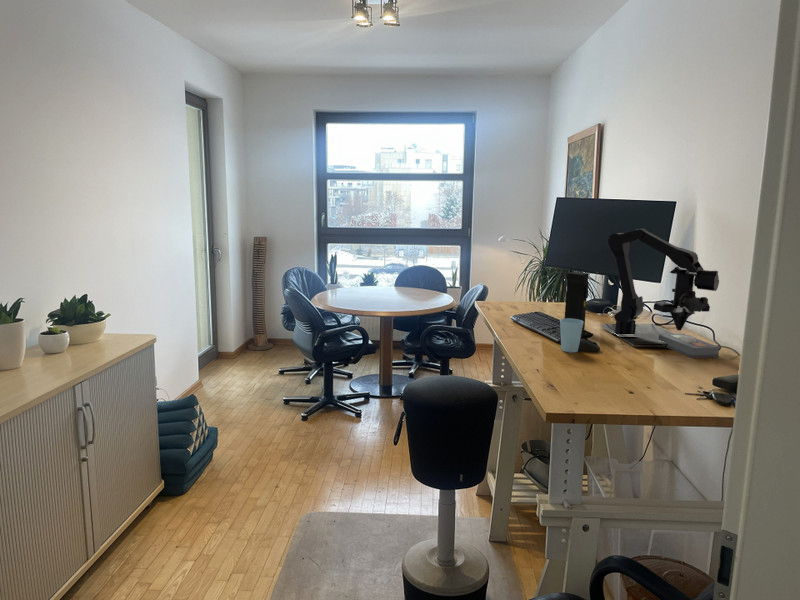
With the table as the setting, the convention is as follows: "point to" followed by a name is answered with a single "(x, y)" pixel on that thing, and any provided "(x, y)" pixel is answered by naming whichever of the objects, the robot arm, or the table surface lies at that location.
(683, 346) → the keypad
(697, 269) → the robot arm
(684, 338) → the cream key
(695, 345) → the terracotta key
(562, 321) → the cup
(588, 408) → the table surface
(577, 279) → the portable radio
